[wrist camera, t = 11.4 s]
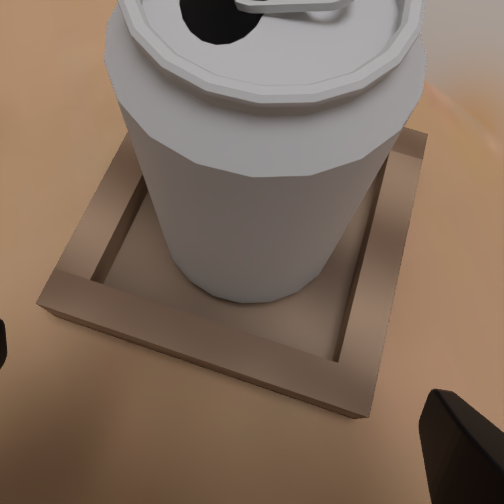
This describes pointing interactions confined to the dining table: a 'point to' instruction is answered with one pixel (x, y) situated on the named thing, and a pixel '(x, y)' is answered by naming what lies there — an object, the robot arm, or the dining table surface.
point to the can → (262, 125)
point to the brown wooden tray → (244, 314)
